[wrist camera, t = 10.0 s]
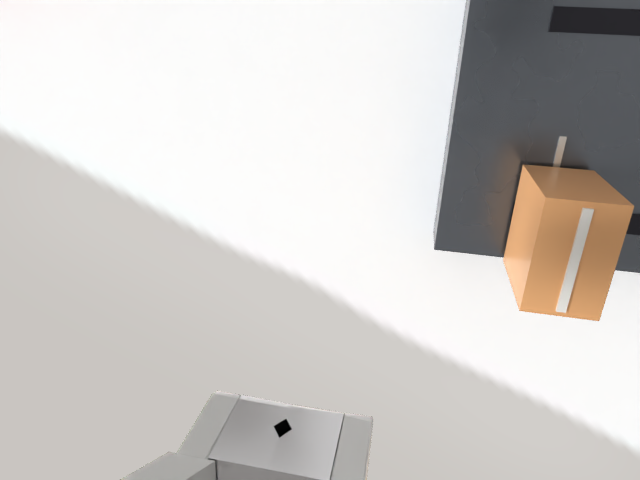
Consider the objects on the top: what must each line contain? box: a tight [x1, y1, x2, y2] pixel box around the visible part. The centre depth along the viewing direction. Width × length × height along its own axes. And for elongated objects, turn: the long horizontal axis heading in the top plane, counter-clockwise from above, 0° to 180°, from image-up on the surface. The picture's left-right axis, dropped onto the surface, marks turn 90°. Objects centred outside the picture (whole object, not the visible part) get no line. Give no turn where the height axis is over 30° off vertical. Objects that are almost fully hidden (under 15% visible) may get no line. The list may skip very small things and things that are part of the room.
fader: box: [503, 164, 634, 321], centre depth 18 cm, size 4×2×4 cm, turn 177°
